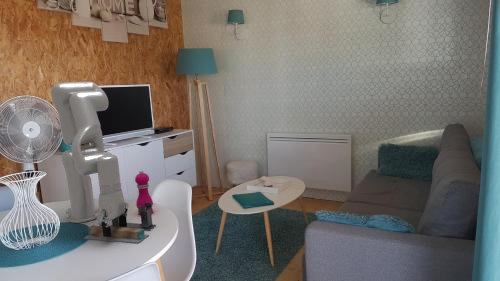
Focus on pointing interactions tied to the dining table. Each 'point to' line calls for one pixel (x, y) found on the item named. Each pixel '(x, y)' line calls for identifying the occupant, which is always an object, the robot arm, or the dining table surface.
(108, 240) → the mat
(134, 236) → the rail
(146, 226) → the bracket
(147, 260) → the dining table surface
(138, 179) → the pepper mill
